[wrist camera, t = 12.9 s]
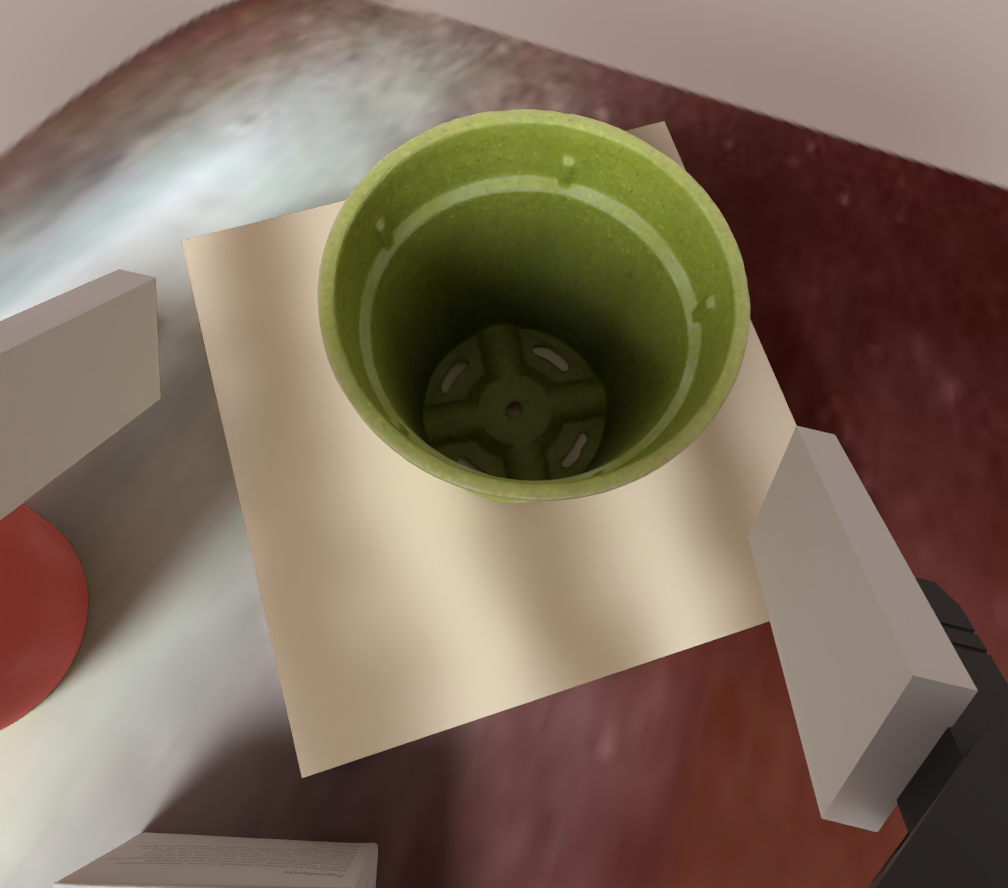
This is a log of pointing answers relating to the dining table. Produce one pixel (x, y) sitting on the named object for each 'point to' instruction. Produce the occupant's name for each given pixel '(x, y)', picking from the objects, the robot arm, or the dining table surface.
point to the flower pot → (36, 611)
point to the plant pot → (533, 304)
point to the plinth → (453, 526)
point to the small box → (228, 864)
